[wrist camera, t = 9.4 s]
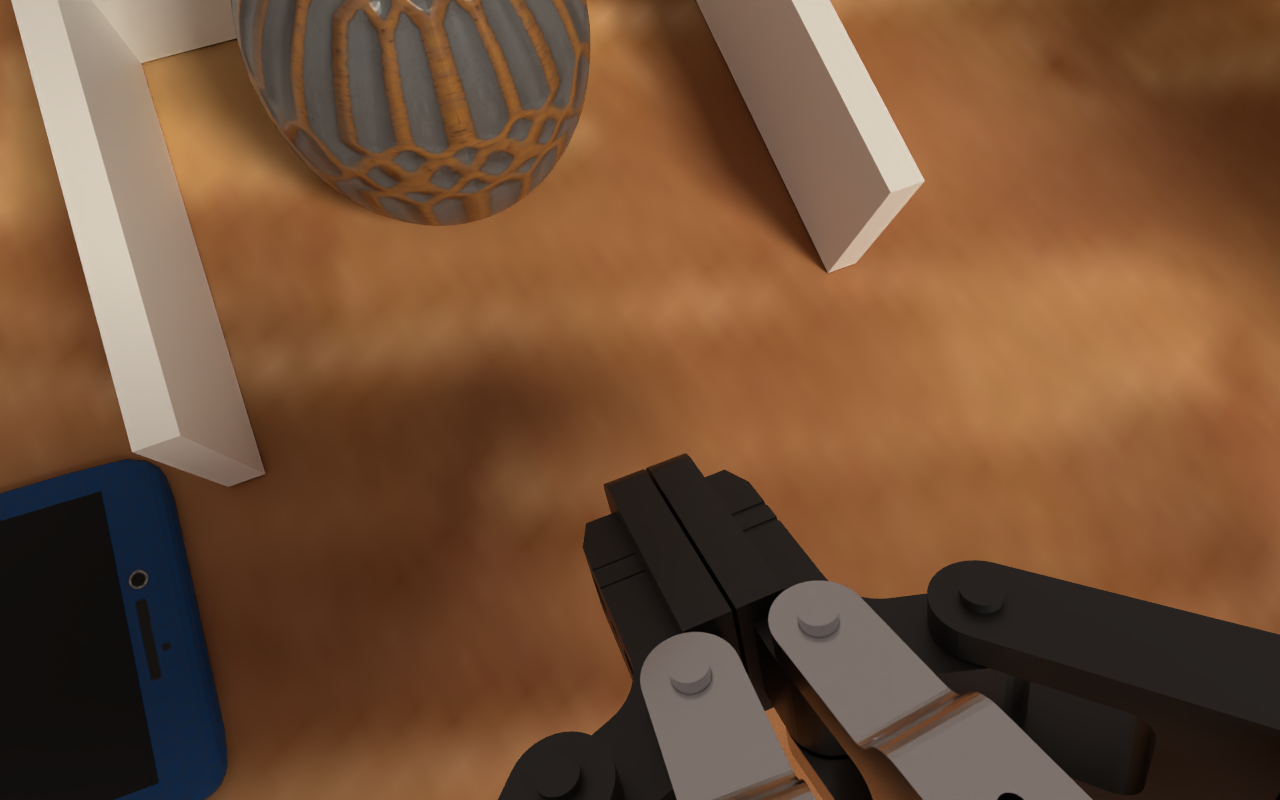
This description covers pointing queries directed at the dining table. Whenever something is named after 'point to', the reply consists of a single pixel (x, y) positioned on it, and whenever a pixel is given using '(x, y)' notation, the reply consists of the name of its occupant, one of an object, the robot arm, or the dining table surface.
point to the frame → (165, 246)
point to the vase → (421, 96)
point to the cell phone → (103, 644)
